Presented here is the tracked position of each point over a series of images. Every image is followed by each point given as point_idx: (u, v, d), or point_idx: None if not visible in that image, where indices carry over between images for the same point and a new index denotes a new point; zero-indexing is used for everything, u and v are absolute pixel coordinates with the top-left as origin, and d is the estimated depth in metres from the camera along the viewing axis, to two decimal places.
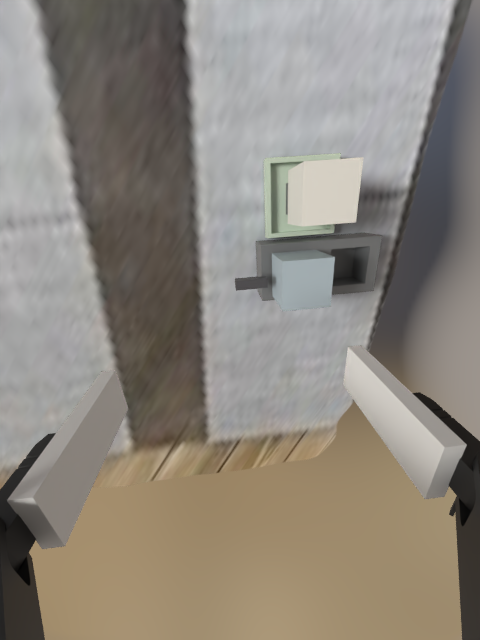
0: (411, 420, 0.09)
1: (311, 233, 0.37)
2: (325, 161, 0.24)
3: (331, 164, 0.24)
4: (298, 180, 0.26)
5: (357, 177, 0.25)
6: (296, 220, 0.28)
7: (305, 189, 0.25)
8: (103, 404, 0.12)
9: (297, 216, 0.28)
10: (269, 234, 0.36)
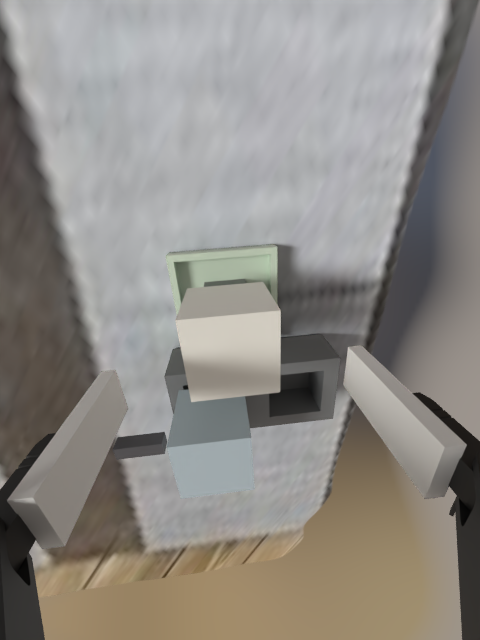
0: (411, 420, 0.09)
1: None
2: (214, 318, 0.14)
3: (225, 322, 0.14)
4: None
5: (274, 337, 0.15)
6: None
7: (187, 357, 0.15)
8: (103, 404, 0.12)
9: None
10: None
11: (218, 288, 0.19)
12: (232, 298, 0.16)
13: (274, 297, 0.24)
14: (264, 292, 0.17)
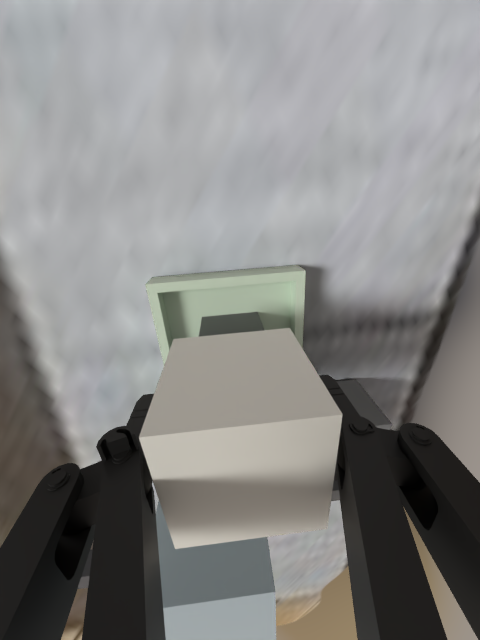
0: None
1: None
2: (214, 432, 0.07)
3: (236, 437, 0.07)
4: None
5: (325, 455, 0.08)
6: None
7: (164, 491, 0.08)
8: None
9: None
10: None
11: (221, 340, 0.12)
12: (246, 370, 0.10)
13: (298, 338, 0.18)
14: (297, 356, 0.10)
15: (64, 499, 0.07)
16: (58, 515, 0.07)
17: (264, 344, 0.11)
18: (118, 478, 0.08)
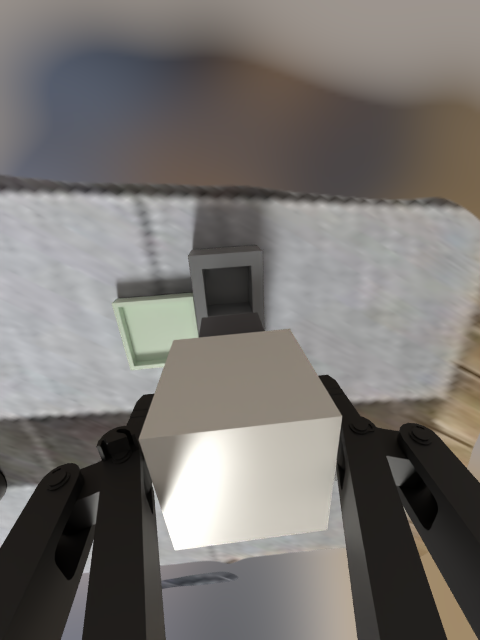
0: None
1: (194, 321, 0.33)
2: (214, 434, 0.07)
3: (235, 438, 0.07)
4: None
5: (325, 457, 0.08)
6: None
7: (164, 492, 0.08)
8: None
9: None
10: None
11: (221, 341, 0.12)
12: (245, 372, 0.10)
13: (151, 302, 0.31)
14: (297, 357, 0.10)
15: (64, 499, 0.07)
16: (58, 515, 0.07)
17: (264, 345, 0.11)
18: (118, 478, 0.08)
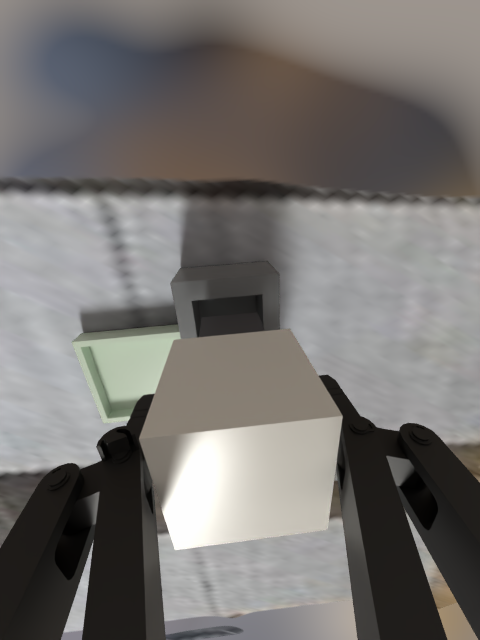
0: None
1: None
2: (214, 433, 0.07)
3: (236, 438, 0.07)
4: None
5: (325, 456, 0.08)
6: None
7: (164, 492, 0.08)
8: None
9: None
10: None
11: (221, 341, 0.12)
12: (246, 372, 0.10)
13: (126, 339, 0.23)
14: (297, 357, 0.10)
15: (64, 499, 0.07)
16: (58, 515, 0.07)
17: (264, 345, 0.11)
18: (118, 478, 0.08)
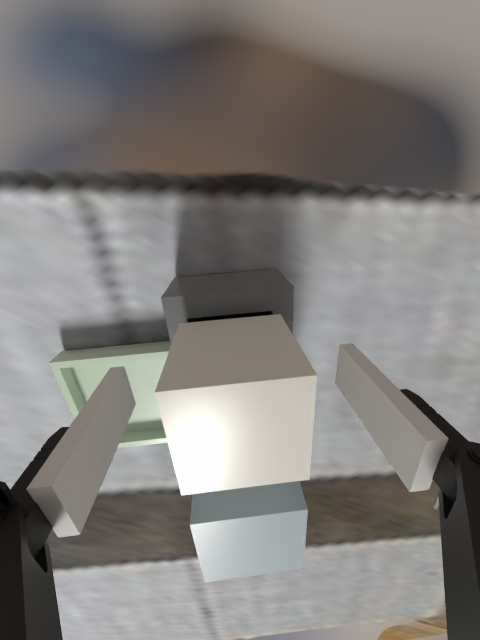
0: (397, 415, 0.10)
1: None
2: (214, 389, 0.09)
3: (232, 393, 0.09)
4: None
5: (305, 411, 0.10)
6: None
7: (174, 440, 0.10)
8: (113, 399, 0.12)
9: None
10: None
11: (221, 324, 0.14)
12: (241, 346, 0.12)
13: (112, 359, 0.20)
14: (285, 335, 0.12)
15: None
16: None
17: (257, 326, 0.13)
18: None
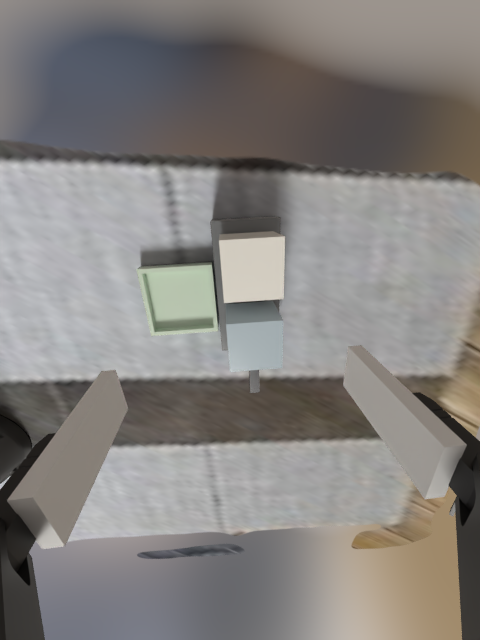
0: (411, 420, 0.09)
1: (212, 289, 0.35)
2: (242, 240, 0.22)
3: (249, 243, 0.22)
4: None
5: (280, 255, 0.23)
6: None
7: (224, 267, 0.23)
8: (103, 404, 0.12)
9: None
10: (214, 329, 0.37)
11: (242, 233, 0.27)
12: (252, 235, 0.25)
13: (173, 269, 0.33)
14: (274, 233, 0.25)
15: None
16: None
17: (260, 233, 0.27)
18: None
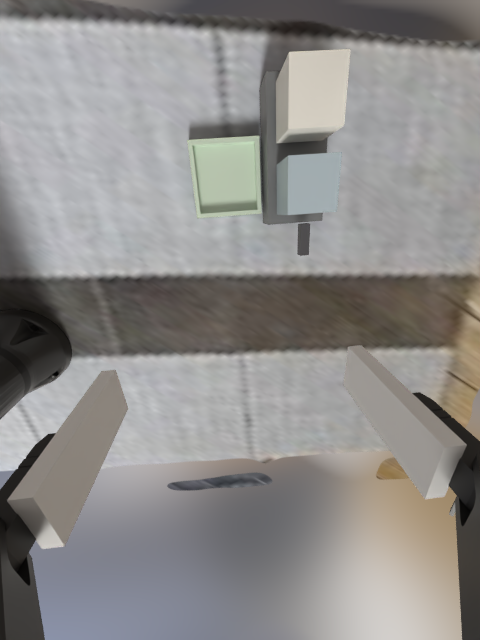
0: (411, 420, 0.09)
1: (258, 164, 0.36)
2: (311, 52, 0.24)
3: (317, 56, 0.24)
4: (284, 81, 0.26)
5: (344, 72, 0.24)
6: (283, 128, 0.28)
7: (291, 85, 0.25)
8: (103, 404, 0.12)
9: (284, 122, 0.27)
10: (258, 211, 0.38)
11: None
12: None
13: (222, 140, 0.34)
14: None
15: None
16: None
17: None
18: None
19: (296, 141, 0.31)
